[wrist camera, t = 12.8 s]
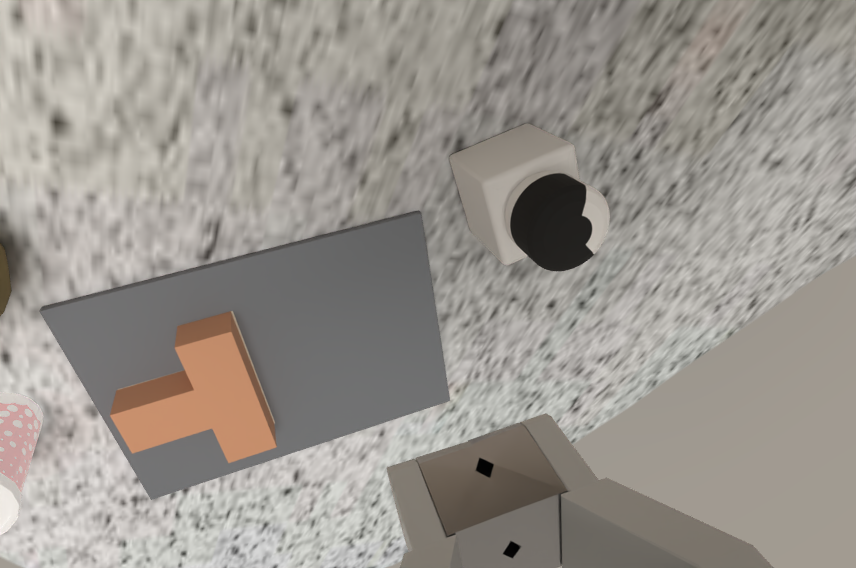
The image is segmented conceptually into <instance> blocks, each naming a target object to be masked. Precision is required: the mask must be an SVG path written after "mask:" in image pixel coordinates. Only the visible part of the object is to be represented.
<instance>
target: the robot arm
mask: <svg viewBox="0 0 856 568" xmlns="http://www.w3.org/2000/svg"><path fill="white" fill-rule="evenodd" d="M387 473H388V477H389V481H390V485H391V489H392V493H393V497H394V501H395V505H396V509H397V512H398V516H399V520H400V524H401V527H402V531H403V535H404V538H405V542H406V545H407V548H408V551H409V552H407V553H405V554H404V556H403V559H402V563H401V566H400V568H557V567H560V566H562V568H773V567H772V566H771V565H770V563H769V562H768V561H767V560H766V559H765V558H764V557H763V556H762V555H761V554H760V553H759V551H758V550H757V549H756V548H755V547H754V546H753V545H751V544H749V543H747V542H745V541H742V540H740V539H738V538H736V537H734V536H732V535H729V534H727V533H725V532H723V531H721V530H719V529H716V528H714V527H712V526H710V525H708V524H706V523H704V522H701V521H699V520H697V519H695V518H693V517H691V516H688V515H686V514H684V513H682V512H680V511H678V510H675V509H673V508H671V507H669V506H667V505H665V504H663V503H660V502H658V501H656V500H654V499H652V498H649V497H647V496H645V495H643V494H641V493H639V492H637V491H634V490H632V489H630V488H628V487H626V486H624V485H622V484H619V483H617V482H615V481H613V480H611V479H609V478H605V479H601V480H598V478H597V477H596V476H595V474H594V473H593V472H592V471H591V469H590V468H589V466H588V465H587V464H586V463H585V461H584V460H583V458H582V457H581V456H580V454H579V453H578V452H577V450H576V449H575V448H574V446H573V445H572V444H571V442H570V441H569V440H568V438H567V437H566V436H565V434H564V433H563V432H562V430H561V429H560V428H559V426H558V425H557V424H556V422H555V421H554V420H553V418H552V417H551V416H550V415H548V414H543V415H540V416H537V417H534V418H531V419H528V420H525V421H523V422H520V423H516V424H513V425H510V426H507V427H505V428H502V429H499V430H496V431H493V432H491V433H488V434H485V435H482V436H479V437H477V438H474V439H471V440H468V442H465V443H461V444H458V445H455V446H452V447H449V448H445V449H442V450H439V451H436V452H433V453H430V454H426V455H423V456H420V457H417V458H416V459H412V460H409V461H406V462H402V463H399V464H396V465H393V466H390V467H387Z"/></svg>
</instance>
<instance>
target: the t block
mask: <svg viewBox="0 0 856 568" xmlns="http://www.w3.org/2000/svg"><path fill="white" fill-rule="evenodd" d="M175 350H176V352H177V354H178V356H179V359H180V361H181V363H182V365H183V367H184V369H185V370H184V371H180V372H177V373H174V374H170V375H167V376H163V377H160V378H157V379H153V380H150V381H146V382H143V383H140V384H136V385H133V386H129V387H126V388H123V389H119V390H116V394H115V398H114V401H113V405H112V409H111V413H110V417H111V418H112V420H113V422H114V424H115V425H116V427H117V429H118V430H119V432H120V434H121V435H122V437H123V439H124V441H125V442H126V444H127V446H128V447H129V449H130V451H131V452H132V454H133V453H136V452H139V451H142V450H145V449H149V448H152V447H155V446H158V445H161V444H164V443H168V442H171V441H174V440H177V439H180V438H183V437H186V436H190V435H193V434H196V433H199V432H202V431H205V430H209V429H213V431H214V433H215V436H216V438H217V440H218V442H219V444H220V446H221V448H222V451H223V453H224V455H225V457H226V459H227V461H228V463H231V462H234V461H237V460H240V459H243V458H246V457H249V456H252V455H255V454H258V453H261V452H264V451H267V450H270V449H273V448H276V447H277V444H276V435H275V426H274V422H273V419H272V416H271V414H270V411H269V409H268V406H267V404H266V401H265V398H264V396H263V393H262V391H261V388H260V385H259V383H258V380H257V378H256V375H255V372H254V370H253V367H252V365H251V362H250V359H249V357H248V354H247V352H246V349H245V347H244V344H243V341H242V339H241V336H240V334H239V331H238V328H237V326H236V323H235V321H234V318H233V315H232V313H231V311H230V312H226V313H223V314H219V315H216V316H212V317H208V318H205V319H201V320H198V321H194V322H190V323H187V324H183V325H180V326H177V333H176V340H175Z"/></svg>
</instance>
